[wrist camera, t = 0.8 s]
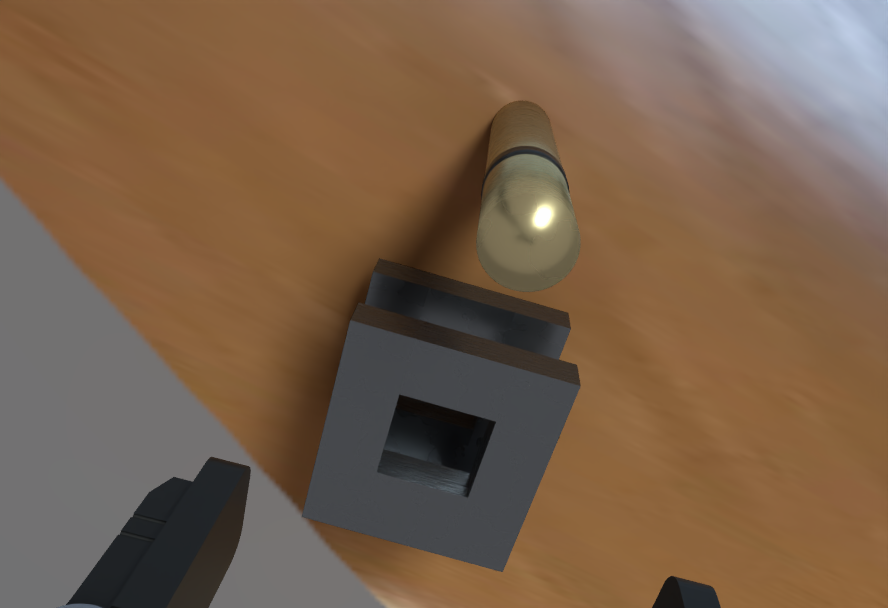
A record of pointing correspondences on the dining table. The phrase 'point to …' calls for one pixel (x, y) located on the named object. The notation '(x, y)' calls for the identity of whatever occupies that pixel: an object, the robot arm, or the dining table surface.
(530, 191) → the brass tube
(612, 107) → the dining table surface
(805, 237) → the dining table surface
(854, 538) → the dining table surface
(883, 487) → the dining table surface
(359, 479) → the collar stand
